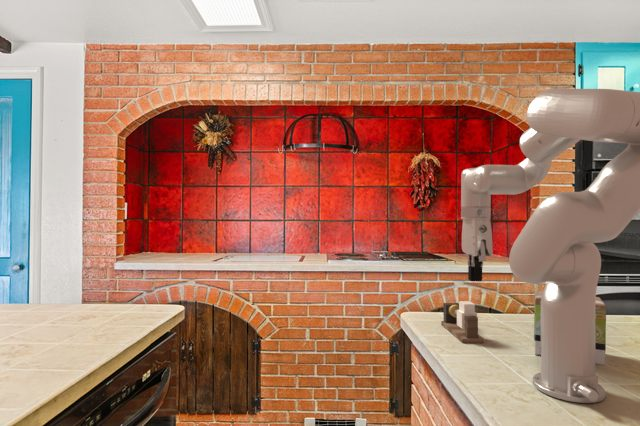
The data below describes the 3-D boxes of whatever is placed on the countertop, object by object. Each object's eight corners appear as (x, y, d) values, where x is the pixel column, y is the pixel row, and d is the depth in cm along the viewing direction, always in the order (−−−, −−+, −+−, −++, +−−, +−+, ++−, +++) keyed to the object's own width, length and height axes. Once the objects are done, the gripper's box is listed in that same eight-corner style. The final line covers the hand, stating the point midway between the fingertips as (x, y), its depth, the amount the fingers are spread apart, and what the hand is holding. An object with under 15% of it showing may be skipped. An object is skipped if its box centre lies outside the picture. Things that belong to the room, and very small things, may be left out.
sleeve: (477, 328, 113) (477, 304, 113) (461, 328, 113) (461, 304, 113) (471, 324, 117) (471, 301, 117) (456, 324, 117) (456, 301, 117)
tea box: (534, 355, 101) (534, 297, 101) (533, 344, 109) (533, 290, 109) (606, 366, 94) (606, 303, 94) (600, 352, 102) (599, 295, 102)
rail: (483, 342, 111) (483, 316, 111) (462, 342, 111) (462, 316, 111) (459, 324, 129) (459, 301, 129) (441, 324, 129) (441, 302, 129)
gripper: (502, 214, 101) (501, 286, 101) (477, 213, 116) (477, 275, 116) (473, 214, 101) (472, 286, 101) (452, 213, 116) (451, 275, 116)
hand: (475, 280), depth 109 cm, fingers closed
